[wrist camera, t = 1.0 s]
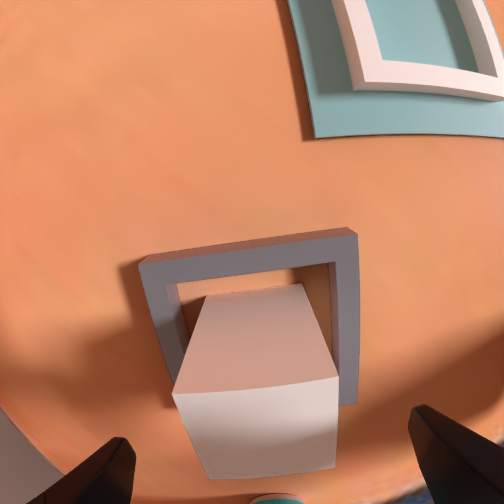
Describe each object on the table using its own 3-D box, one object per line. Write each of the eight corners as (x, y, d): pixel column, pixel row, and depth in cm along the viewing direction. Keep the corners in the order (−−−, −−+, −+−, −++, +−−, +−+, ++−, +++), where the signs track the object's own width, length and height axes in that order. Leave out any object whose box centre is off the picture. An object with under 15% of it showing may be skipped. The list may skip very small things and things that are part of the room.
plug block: (301, 282, 14) (338, 376, 7) (308, 369, 15) (334, 475, 8) (206, 295, 14) (171, 393, 7) (225, 380, 15) (212, 487, 9)
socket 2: (460, -39, 8) (473, -50, 7) (516, 139, 12) (538, 139, 10) (266, -71, 9) (267, -91, 7) (314, 138, 12) (324, 133, 10)
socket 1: (346, 227, 13) (357, 233, 12) (350, 386, 16) (356, 402, 14) (148, 255, 14) (137, 264, 12) (192, 405, 16) (188, 422, 14)
